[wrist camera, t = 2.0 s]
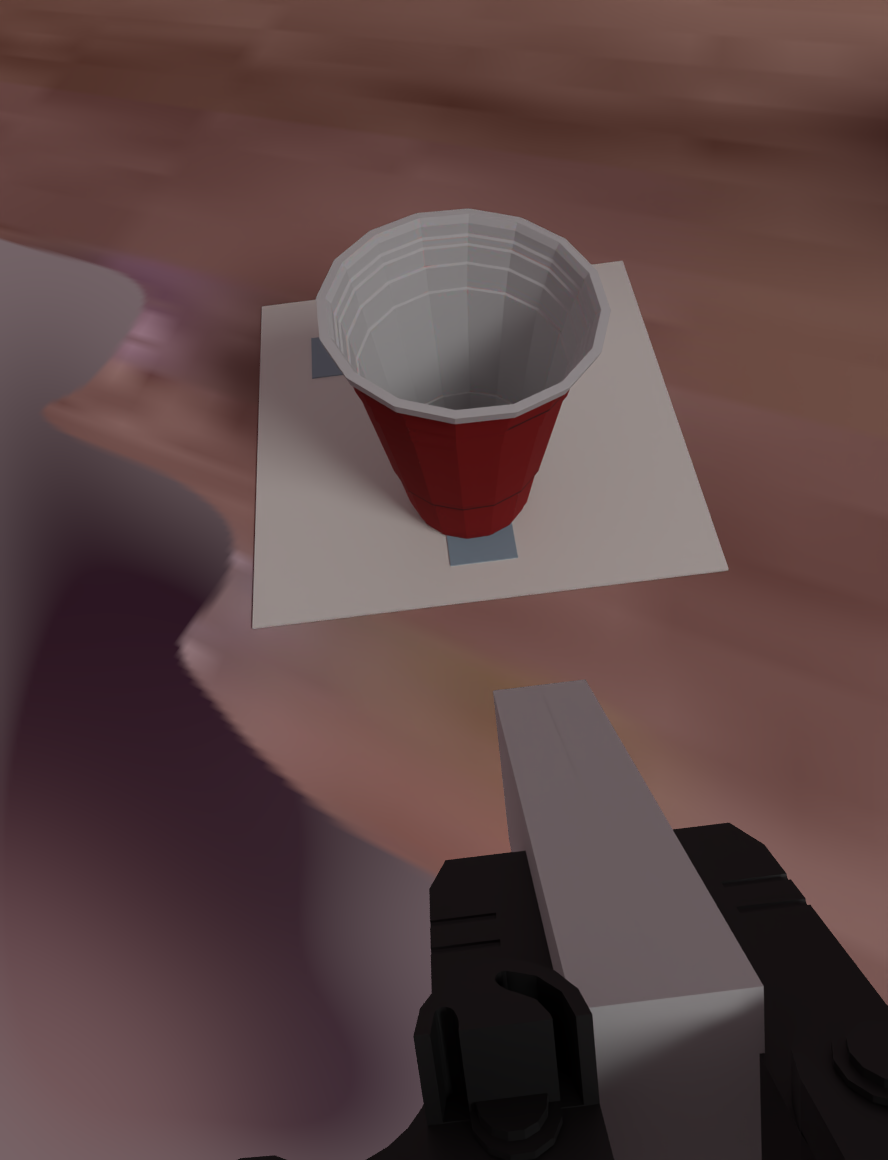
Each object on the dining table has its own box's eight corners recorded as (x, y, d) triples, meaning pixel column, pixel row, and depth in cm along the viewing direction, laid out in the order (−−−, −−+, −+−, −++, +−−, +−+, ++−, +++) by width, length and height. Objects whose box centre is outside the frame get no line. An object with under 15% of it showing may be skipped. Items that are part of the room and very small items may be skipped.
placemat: (622, 262, 46) (622, 259, 46) (728, 570, 35) (729, 568, 35) (262, 307, 46) (261, 305, 46) (253, 629, 35) (251, 627, 35)
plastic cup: (532, 621, 34) (544, 445, 24) (326, 541, 37) (257, 354, 27) (615, 448, 39) (654, 238, 29) (425, 388, 42) (399, 179, 32)
